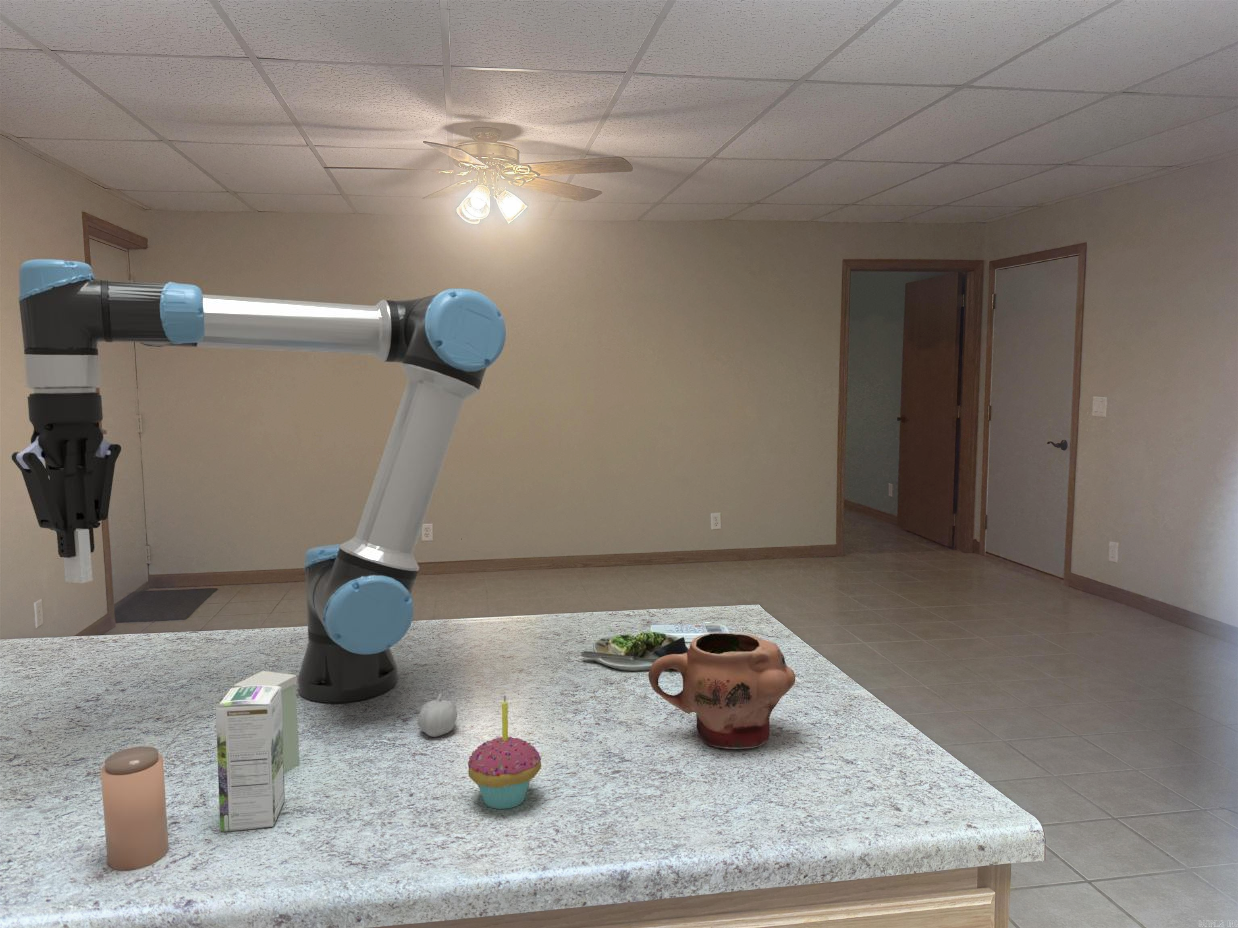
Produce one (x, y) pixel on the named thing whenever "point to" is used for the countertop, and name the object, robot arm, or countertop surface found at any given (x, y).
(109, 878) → the countertop surface
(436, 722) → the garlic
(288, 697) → the tea tin
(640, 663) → the salad plate
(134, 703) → the countertop surface
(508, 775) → the cupcake
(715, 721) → the brown clay mug
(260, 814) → the syrup box
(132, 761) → the canister
